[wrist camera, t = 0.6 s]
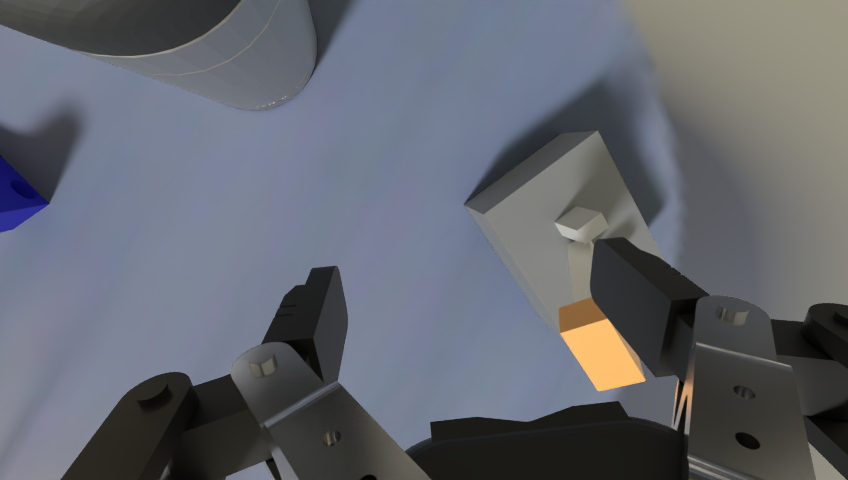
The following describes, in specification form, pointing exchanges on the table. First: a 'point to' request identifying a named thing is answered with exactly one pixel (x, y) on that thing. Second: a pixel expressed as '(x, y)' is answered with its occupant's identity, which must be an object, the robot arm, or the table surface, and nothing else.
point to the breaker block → (557, 216)
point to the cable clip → (16, 198)
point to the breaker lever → (595, 330)
